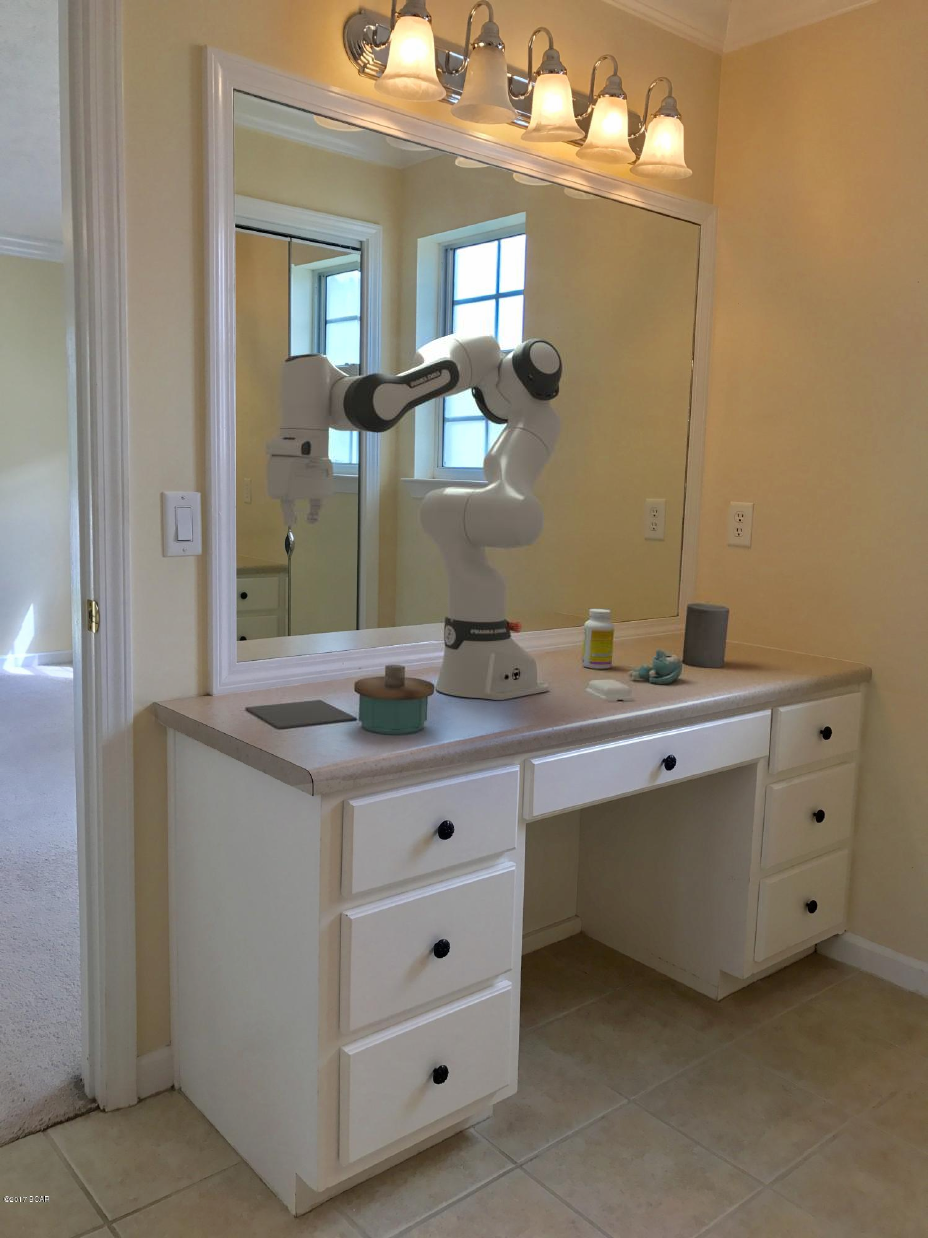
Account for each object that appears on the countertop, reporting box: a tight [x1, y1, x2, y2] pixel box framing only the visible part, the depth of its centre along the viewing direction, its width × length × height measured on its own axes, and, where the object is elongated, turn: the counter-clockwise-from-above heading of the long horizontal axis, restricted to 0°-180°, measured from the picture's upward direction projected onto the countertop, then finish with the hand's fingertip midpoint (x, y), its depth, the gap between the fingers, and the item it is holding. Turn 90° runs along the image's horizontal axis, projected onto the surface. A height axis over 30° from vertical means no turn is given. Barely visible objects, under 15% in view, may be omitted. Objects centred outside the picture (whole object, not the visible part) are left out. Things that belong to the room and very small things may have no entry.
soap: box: [585, 679, 634, 702], centre depth 190 cm, size 9×7×3 cm
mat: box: [245, 699, 358, 730], centre depth 165 cm, size 14×14×1 cm
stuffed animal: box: [628, 649, 683, 685], centre depth 207 cm, size 11×7×12 cm
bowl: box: [358, 694, 429, 736], centre depth 160 cm, size 10×10×6 cm
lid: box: [353, 664, 435, 700], centre depth 159 cm, size 13×13×4 cm
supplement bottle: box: [581, 608, 615, 670], centre depth 218 cm, size 7×7×13 cm
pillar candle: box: [681, 600, 730, 669], centre depth 227 cm, size 10×10×15 cm
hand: (301, 524), depth 175 cm, fingers open, 8 cm apart
